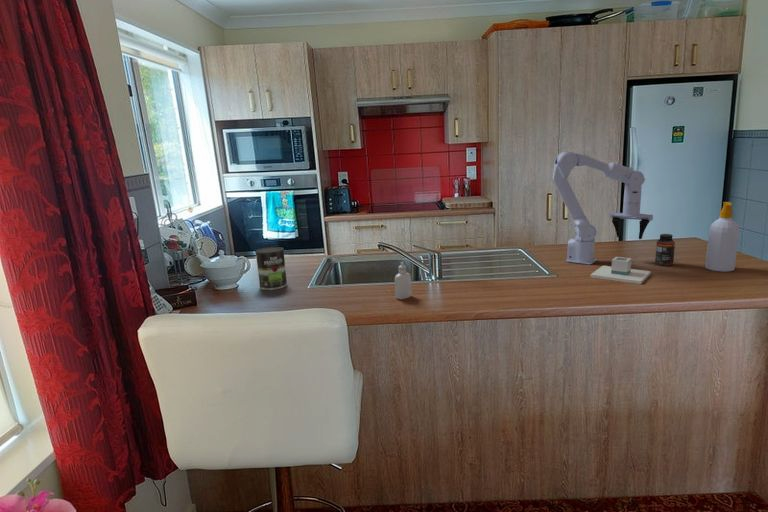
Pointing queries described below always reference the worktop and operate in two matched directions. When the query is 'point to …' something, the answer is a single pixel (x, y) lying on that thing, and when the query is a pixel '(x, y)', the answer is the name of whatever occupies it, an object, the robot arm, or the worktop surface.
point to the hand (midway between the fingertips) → (629, 237)
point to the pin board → (632, 277)
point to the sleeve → (621, 266)
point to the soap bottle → (722, 242)
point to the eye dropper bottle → (402, 283)
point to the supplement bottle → (665, 250)
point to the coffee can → (271, 268)
